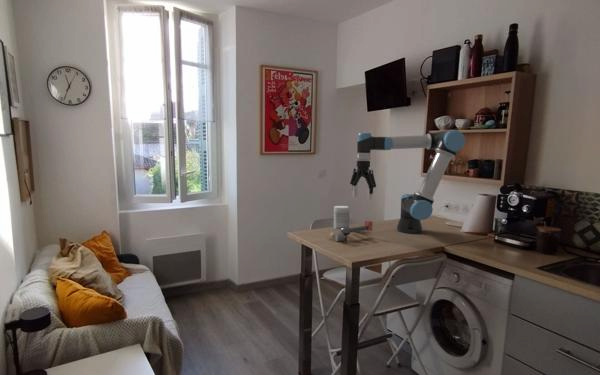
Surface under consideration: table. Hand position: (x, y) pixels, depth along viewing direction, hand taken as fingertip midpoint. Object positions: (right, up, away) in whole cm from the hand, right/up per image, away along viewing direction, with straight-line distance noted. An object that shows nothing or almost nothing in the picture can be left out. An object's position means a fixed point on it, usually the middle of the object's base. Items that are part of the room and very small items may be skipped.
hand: (362, 198), depth 201 cm
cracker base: (-6, -24, -12) cm, 27 cm away
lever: (-6, -22, -10) cm, 25 cm away
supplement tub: (-10, -21, +16) cm, 28 cm away
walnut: (-17, -22, -11) cm, 30 cm away
